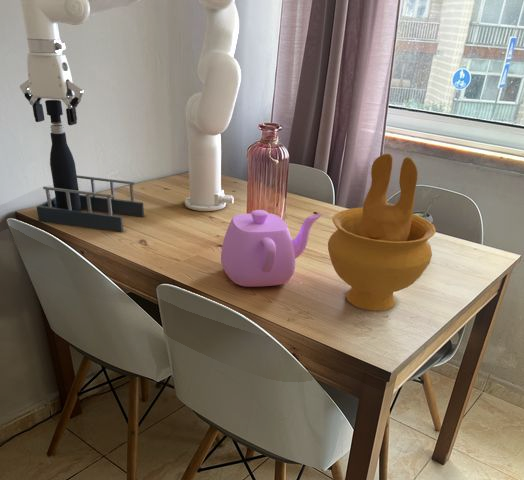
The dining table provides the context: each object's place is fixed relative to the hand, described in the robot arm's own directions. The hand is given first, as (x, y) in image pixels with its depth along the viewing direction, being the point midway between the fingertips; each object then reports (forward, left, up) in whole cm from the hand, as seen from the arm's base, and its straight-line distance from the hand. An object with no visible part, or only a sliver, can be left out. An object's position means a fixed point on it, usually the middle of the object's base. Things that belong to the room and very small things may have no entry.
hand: (56, 122), depth 142 cm
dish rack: (-8, 0, -25) cm, 26 cm away
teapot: (-62, +21, -25) cm, 70 cm away
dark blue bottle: (0, 0, -25) cm, 25 cm away
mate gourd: (-97, -13, -25) cm, 101 cm away
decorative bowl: (-87, +25, -25) cm, 94 cm away
